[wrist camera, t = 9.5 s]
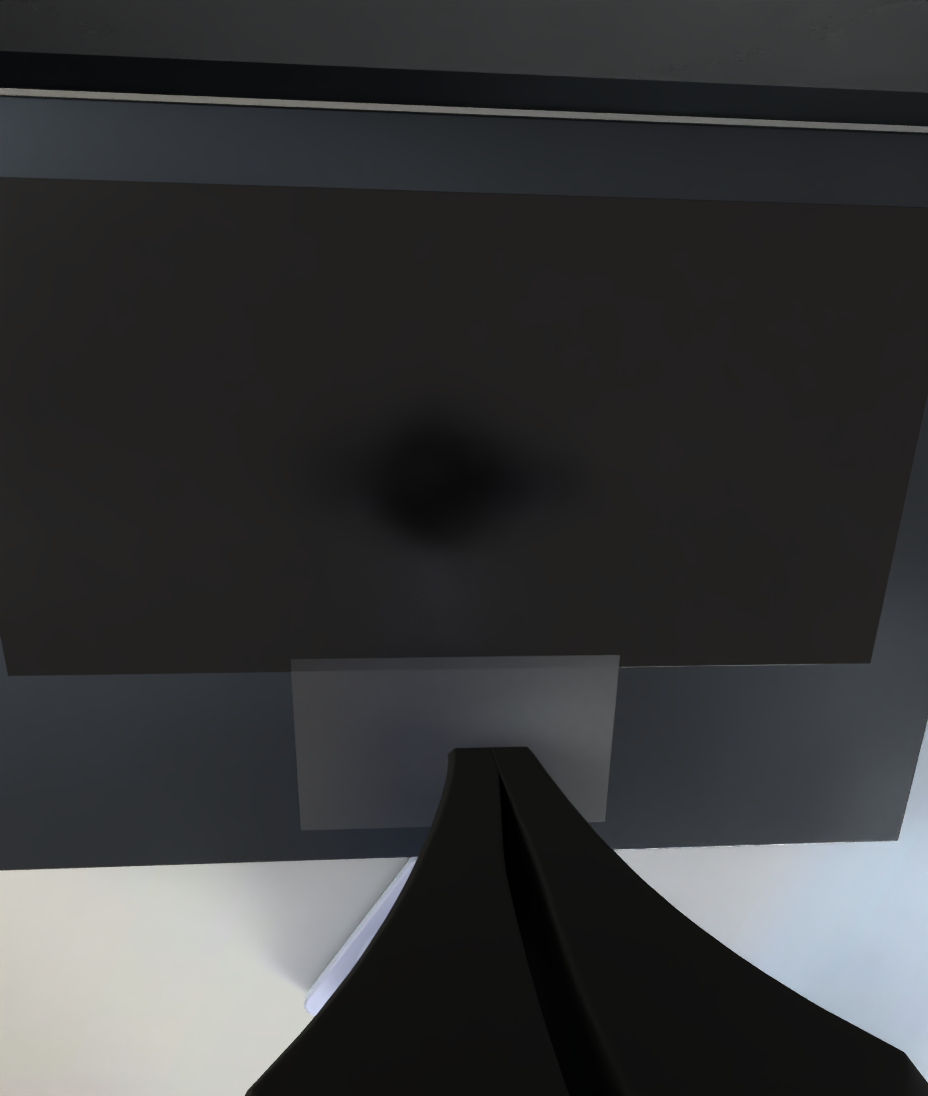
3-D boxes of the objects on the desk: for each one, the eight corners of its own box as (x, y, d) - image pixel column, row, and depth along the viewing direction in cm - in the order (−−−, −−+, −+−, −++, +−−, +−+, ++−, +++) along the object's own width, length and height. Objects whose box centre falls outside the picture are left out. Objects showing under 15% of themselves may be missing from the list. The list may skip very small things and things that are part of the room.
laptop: (865, 806, 25) (900, 844, 23) (0, 832, 23) (-35, 875, 21) (1012, 155, 19) (1075, 136, 17) (-156, 109, 17) (-225, 82, 15)
